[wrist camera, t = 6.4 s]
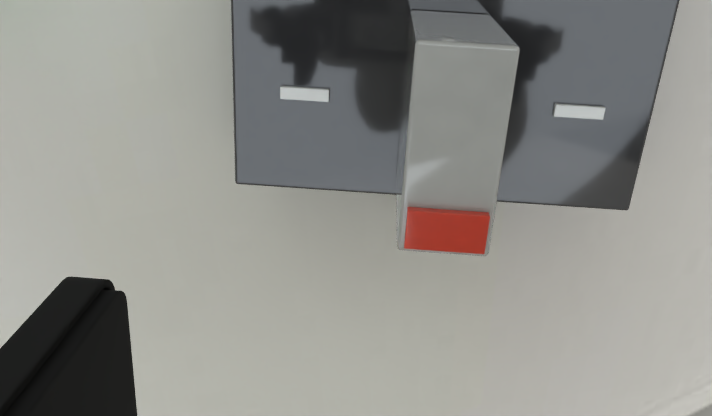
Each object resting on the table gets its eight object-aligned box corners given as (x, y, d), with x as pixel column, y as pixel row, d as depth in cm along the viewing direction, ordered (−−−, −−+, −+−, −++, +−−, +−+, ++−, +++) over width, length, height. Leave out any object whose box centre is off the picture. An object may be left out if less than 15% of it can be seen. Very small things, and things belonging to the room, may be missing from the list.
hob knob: (410, 9, 18) (415, 41, 14) (491, 14, 18) (523, 48, 14) (395, 181, 20) (397, 256, 16) (468, 186, 20) (490, 262, 16)
